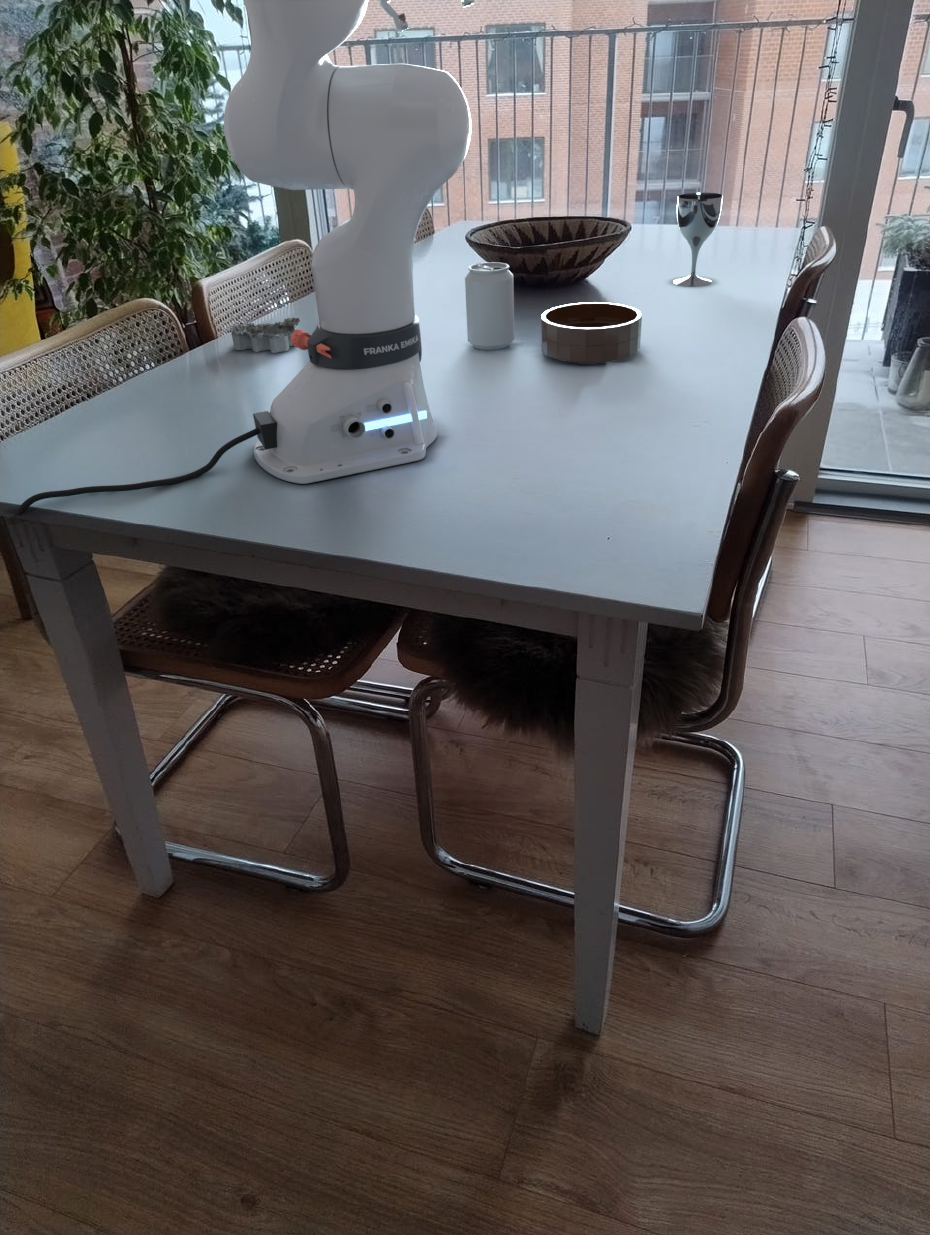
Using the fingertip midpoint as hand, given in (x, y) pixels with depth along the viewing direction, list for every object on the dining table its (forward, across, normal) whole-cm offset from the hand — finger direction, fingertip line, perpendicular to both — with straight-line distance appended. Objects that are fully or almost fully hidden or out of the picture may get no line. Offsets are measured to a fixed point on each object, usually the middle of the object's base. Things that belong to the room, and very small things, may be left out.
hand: (435, 18), depth 116 cm
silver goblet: (+54, +38, +26) cm, 71 cm away
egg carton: (+34, -40, +11) cm, 54 cm away
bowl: (+47, +8, -10) cm, 49 cm away
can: (+44, -6, -1) cm, 44 cm away
